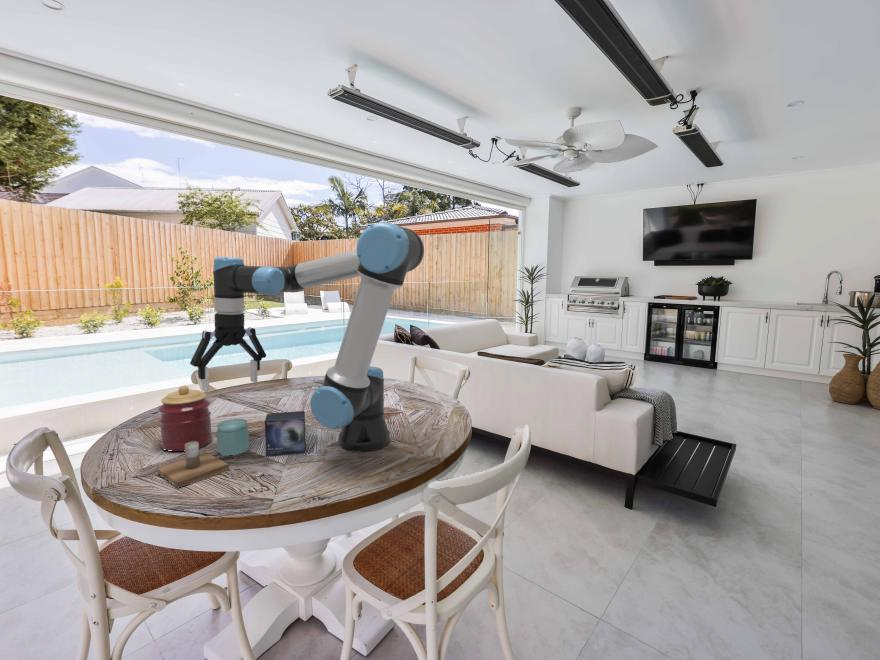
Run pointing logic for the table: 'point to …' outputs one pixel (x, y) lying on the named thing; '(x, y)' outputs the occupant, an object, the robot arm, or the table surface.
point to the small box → (285, 433)
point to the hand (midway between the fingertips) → (230, 385)
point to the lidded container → (232, 437)
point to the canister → (185, 419)
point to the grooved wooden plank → (192, 467)
